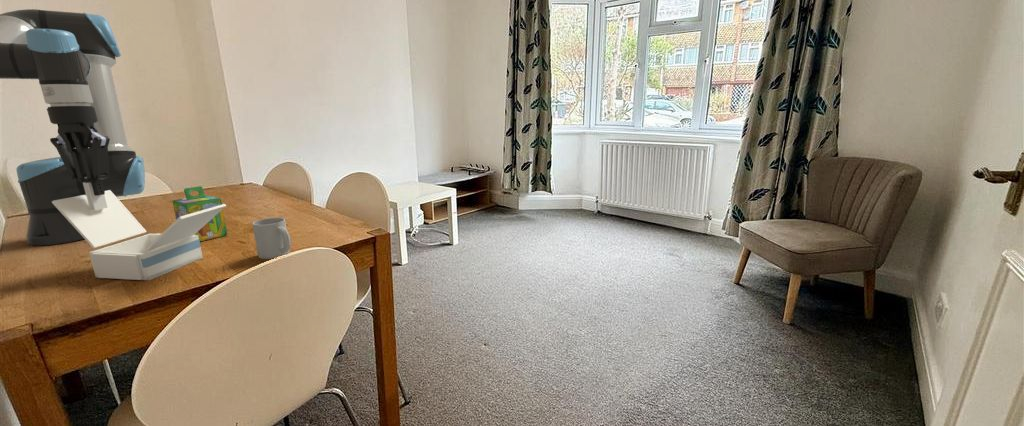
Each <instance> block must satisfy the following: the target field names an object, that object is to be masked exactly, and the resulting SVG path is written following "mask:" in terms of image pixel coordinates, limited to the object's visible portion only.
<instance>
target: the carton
mask: <svg viewBox="0 0 1024 426" xmlns="http://www.w3.org/2000/svg"><path fill="white" fill-rule="evenodd" d="M162 233H163V232H160V233H159V232H158V233H147V234H146V233H145V234H144V235H143V234H142V235H139V236H137V237H134V238H130V239H127V240H124V241H121V242H120V241H119V242H117V243H115V244H110V245H108V246H105V247H102V248H98V249H95V250H94V249H93V250H91V251H89V252H88V254H89V258H90V261H91V266H92V269H93V271H94V272H93V273H94V276H95V278H97V279H98V278H99V279H115V280H116V279H118V280H131V281H132V280H133V281H135V280H136V281H151V280H154V279H155V278H156V279H157V278H159V277H161V276H163V275H165V274H168V273H170V272H172V271H175V270H178V269H180V268H182V267H185V266H188V265H190V264H193V263H195V262H196V261H199V260H202V259H203V258H204V257H203V253H202V248H201V246H202V245H201V241H200V240H199V237H198V235H192V236H189V237H186V238H184V239H181V240H178V241H175V242H172V243H169V244H166V245H163V246H161V247H158V248H155V249H152V250H149V251H146V250H145V249H146V248H147V247H148V246H149V245H150V244H151V243H152V242H153V241H154V240H155V239H156V238H157V237H158V236H160V235H161V234H162Z"/></svg>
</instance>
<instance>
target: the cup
mask: <svg viewBox="0 0 1024 426" xmlns="http://www.w3.org/2000/svg"><path fill="white" fill-rule="evenodd" d="M252 228H253V229H252V230H253V236H254V241H255V247H256V248H255V249H256V252H257V253H256V254H257V257H259V258H260V259H261V260H273V259H272V258H275V257H278V256H282V255H285V254H287V255H289V253H290V252H291V251H290V250H291V245H292V244H291V236H290V233H289V232H288V228H287V224H286V219H285V218H284V217H268V218H267V217H266V218H262V219H258V220H255V221H253V222H252ZM275 259H276V258H275Z"/></svg>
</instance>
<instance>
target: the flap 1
mask: <svg viewBox="0 0 1024 426" xmlns="http://www.w3.org/2000/svg"><path fill="white" fill-rule="evenodd" d="M104 196H105V199H106V203H107V207H108V208H104V209H99V210H90V207H89V203H88V200H87V196H86V195H81V196H76V197H70V198H65V199H60V200H54V201H52V203H53V204H54V206H55V207H56V208H57V209H58V210H59V211H60V212H61V213H62V214H63V215H64V217H65V218H66V219H67V220H68V221H69V222H70V223H71V224H72V225H73V227H74V228H75V229H76V230H77V231H78V232H79V233H80V234H81V235H82V236H83V238H84V239H83V240H85V242H87V243H88V244H89V245H90V246H91V248H92V249H93V250H94V249H96V248H99V247H103V246H106V245H111V244H113V243H116V242H117V243H118V242H120V241H122V240H126V239H127V240H128V239H129V238H130V239H131V238H132V237H136V236H137V237H138V236H141V235H143V234H146V233H147V232H148V231H147V230H146V229H145V227H143V226H142V224H141V223H140V222H139V221H138V220H137V219H136V217H135V216H134V215H133V214H132V213H131V212H130V211H129V209H128V208H127V207H126V206H125V205H124V204H123V202H121V200H120V199H119V198H118V197H116V196H115V195H114V194H113V193H112V191H111V190H107V191H105V194H104Z"/></svg>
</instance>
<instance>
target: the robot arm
mask: <svg viewBox="0 0 1024 426" xmlns="http://www.w3.org/2000/svg"><path fill="white" fill-rule="evenodd" d="M121 56H122V54H121V52H120V48H119V46H118V43H117V40H116V38H115V34H114V32H113V30H112V27H111V26H110V23H109V21H108V20H107V18H106V17H104V16H103V15H101V14H100V15H99V14H91V13H86V12H83V13H82V12H70V11H69V12H68V11H59V10H46V9H45V10H43V9H34V8H33V9H29V8H28V9H18V10H11V11H8V12H7V11H6V12H4V13H0V79H2V80H3V79H7V80H10V79H11V80H13V79H15V80H16V79H17V80H19V79H20V80H38V83H39V85H40V88H41V92H42V96H43V101H44V103H45V104H47V105H49V106H47V108H46V112H47V114H48V117H49V121H50V123H51V124H53V125H57V134H58V135H57V136H56V137H50V138H49V140H50V143H51V144H52V145H53V146H54V147H55V149H56V150H57V152H58V154H59V156H57V157H50V158H43V159H39V160H33V161H28V162H24V163H21V164H19V165H18V166H17V167H16V175H17V179H18V180H17V183H18V185H19V186H20V190H21V194H22V195H23V199H24V203H25V206H26V208H27V211H28V214H29V215H28V216H29V217H28V218H29V219H28V224H27V225H28V226H27V231H26V240H27V244H28V245H29V246H52V245H58V244H65V243H71V242H77V241H81V240H82V241H83V240H85V239H84V238H83V236H82V235H81V234H80V233H79V232H78V231H77V230H76V229H75V228H74V227H73V225H72V224H71V223H70V222H69V221H68V220H67V219H66V218H65V217H64V215H63V214H62V213H61V212H60V211H59V210H58V209H57V208H56V207H55V206H54V204H53V203H52V201H54V200H60V199H65V198H70V197H76V196H81V195H86V196H87V200H88V203H89V207H90V210H99V209H104V208H108V207H107V203H106V199H105V196H104V194H105V191H107V190H111V191H112V193H113V194H114V195H115V196H116V197H117V198H118V197H127V196H135V195H140V194H141V193H143V192H144V190H145V188H146V187H145V185H146V184H145V183H146V175H145V174H146V173H145V172H146V171H145V163H144V158H143V157H142V156H140V155H136V150H134V149H133V148H131V147H129V146H128V142H127V136H126V132H125V128H124V123H123V118H122V115H121V109H120V104H119V100H118V95H117V90H116V86H115V83H114V77H113V73H112V67H113V66H115V64H116V63H117V60H116V58H119V57H121Z"/></svg>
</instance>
